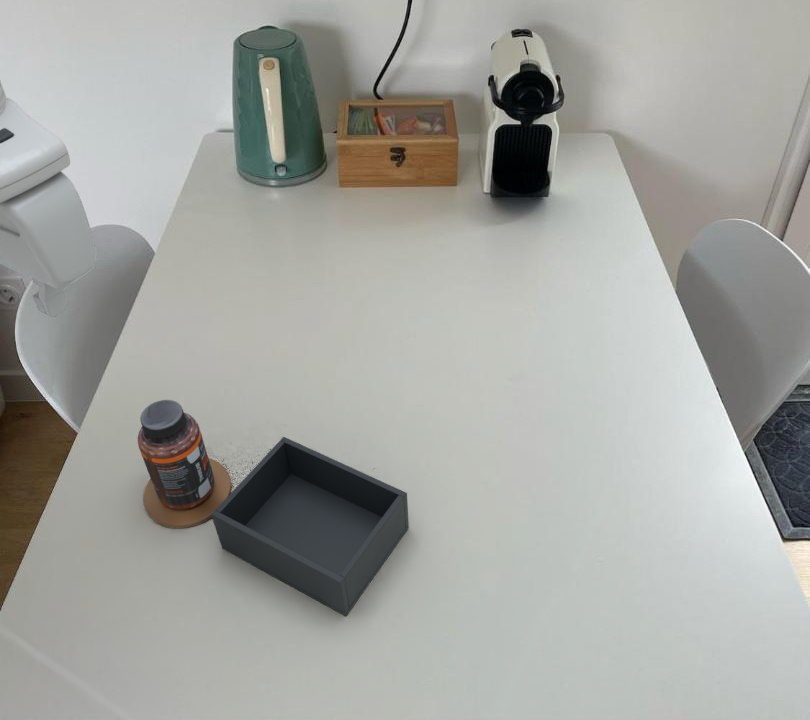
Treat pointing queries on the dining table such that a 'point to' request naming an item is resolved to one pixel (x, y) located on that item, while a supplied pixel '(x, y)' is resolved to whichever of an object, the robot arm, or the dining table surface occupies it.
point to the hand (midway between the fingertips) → (15, 292)
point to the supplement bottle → (175, 455)
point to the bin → (313, 523)
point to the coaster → (194, 514)
